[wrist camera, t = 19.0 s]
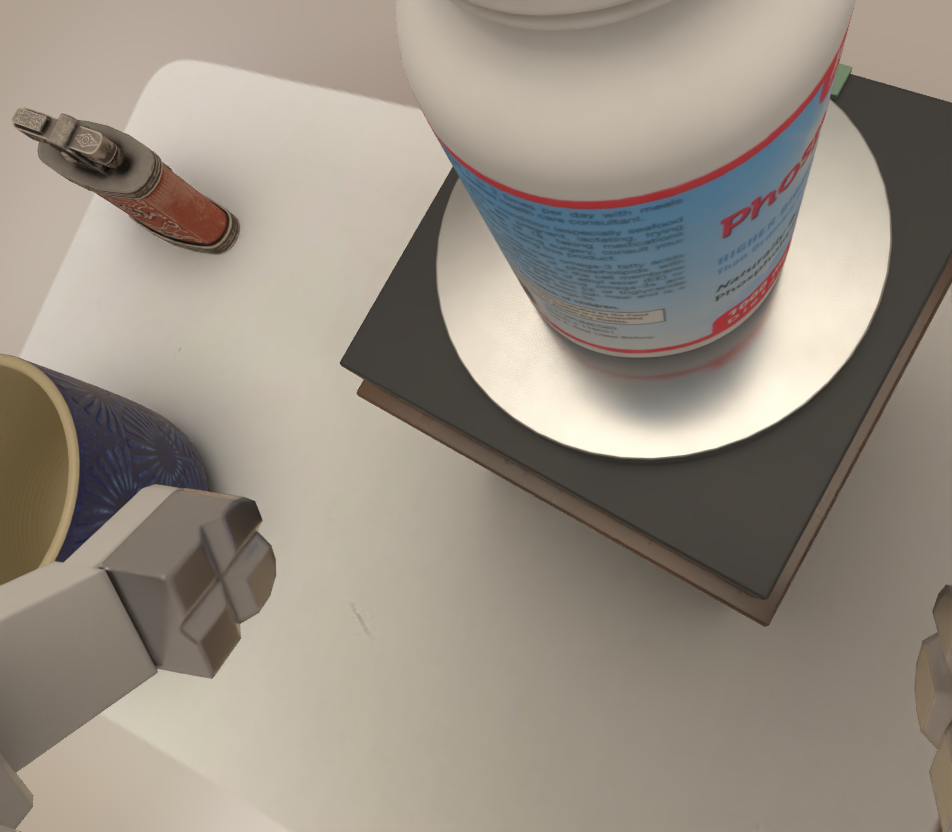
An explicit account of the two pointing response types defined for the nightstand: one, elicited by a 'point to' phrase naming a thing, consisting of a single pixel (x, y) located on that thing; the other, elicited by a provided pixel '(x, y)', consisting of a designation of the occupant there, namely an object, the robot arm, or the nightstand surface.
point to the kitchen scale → (690, 351)
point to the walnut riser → (644, 546)
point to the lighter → (130, 180)
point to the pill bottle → (631, 149)
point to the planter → (75, 462)
